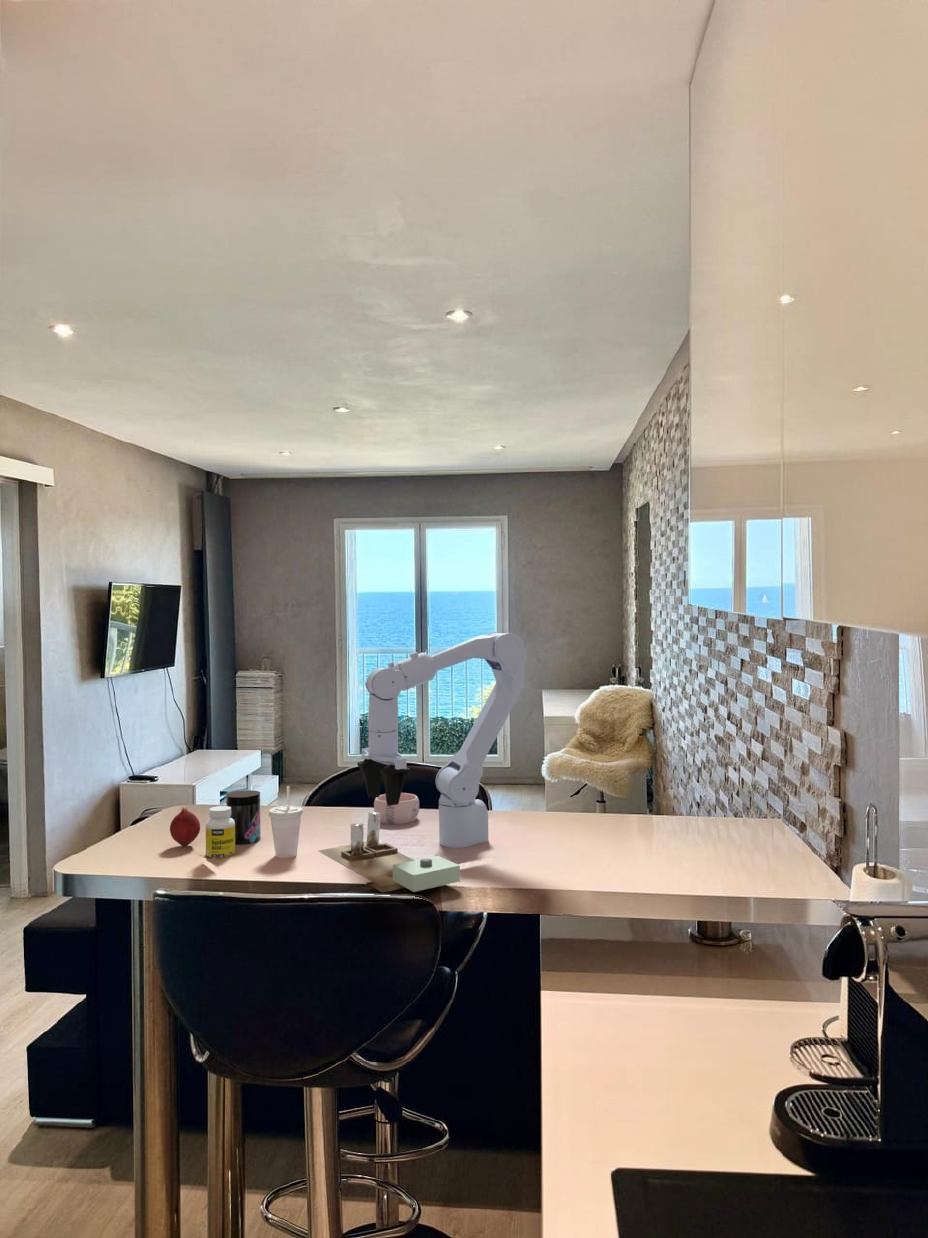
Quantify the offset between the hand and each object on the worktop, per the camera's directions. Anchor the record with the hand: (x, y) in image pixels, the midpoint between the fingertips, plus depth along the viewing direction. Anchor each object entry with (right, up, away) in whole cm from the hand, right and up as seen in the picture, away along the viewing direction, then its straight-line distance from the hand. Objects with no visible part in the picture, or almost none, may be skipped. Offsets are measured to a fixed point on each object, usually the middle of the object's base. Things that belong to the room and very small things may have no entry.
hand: (383, 801), depth 162 cm
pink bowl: (+1, -10, +25) cm, 27 cm away
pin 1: (-4, -10, -4) cm, 11 cm away
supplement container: (-29, -11, +8) cm, 32 cm away
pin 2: (-2, -9, +4) cm, 10 cm away
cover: (+9, -9, -20) cm, 24 cm away
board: (0, -11, -8) cm, 13 cm away
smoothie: (-18, -11, -3) cm, 21 cm away
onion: (-41, -11, +7) cm, 43 cm away
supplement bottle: (-31, -11, -2) cm, 33 cm away
